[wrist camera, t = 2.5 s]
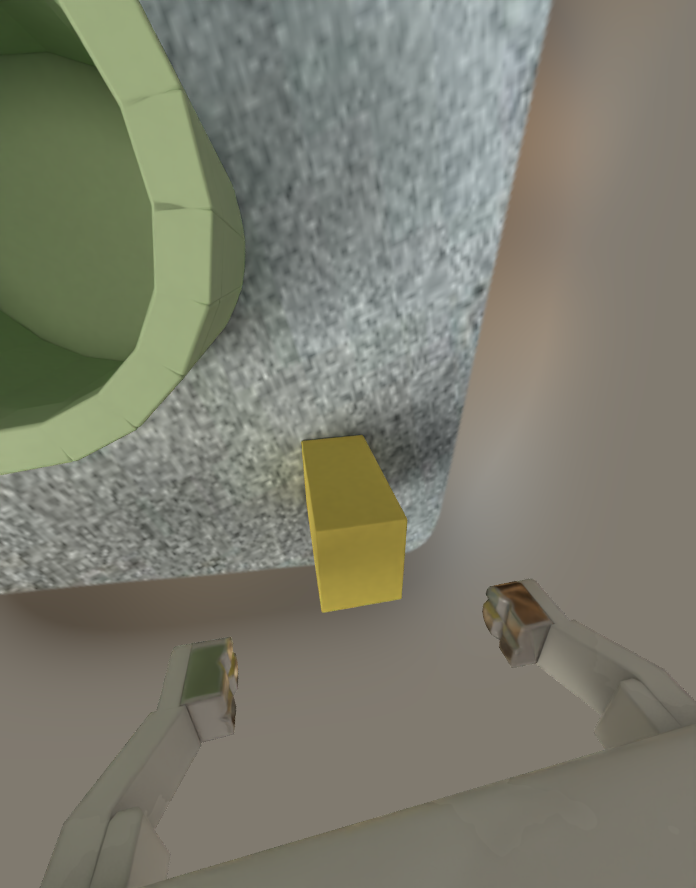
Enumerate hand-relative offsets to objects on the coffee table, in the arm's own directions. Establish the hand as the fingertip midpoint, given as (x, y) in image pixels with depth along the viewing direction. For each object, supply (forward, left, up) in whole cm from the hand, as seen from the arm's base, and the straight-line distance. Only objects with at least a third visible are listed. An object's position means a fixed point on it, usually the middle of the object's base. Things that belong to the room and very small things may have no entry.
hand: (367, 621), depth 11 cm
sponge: (0, 0, -9) cm, 9 cm away
